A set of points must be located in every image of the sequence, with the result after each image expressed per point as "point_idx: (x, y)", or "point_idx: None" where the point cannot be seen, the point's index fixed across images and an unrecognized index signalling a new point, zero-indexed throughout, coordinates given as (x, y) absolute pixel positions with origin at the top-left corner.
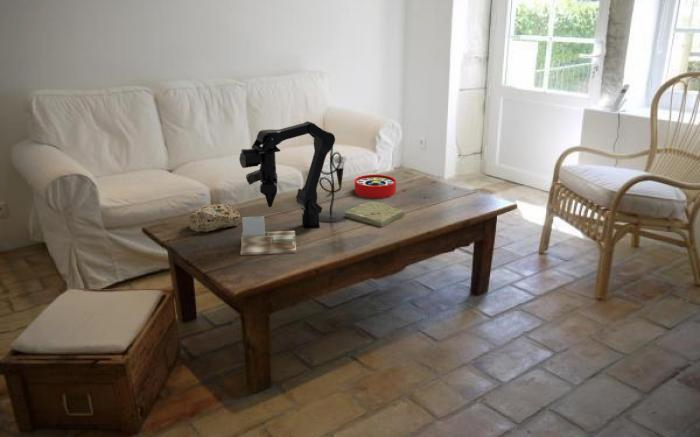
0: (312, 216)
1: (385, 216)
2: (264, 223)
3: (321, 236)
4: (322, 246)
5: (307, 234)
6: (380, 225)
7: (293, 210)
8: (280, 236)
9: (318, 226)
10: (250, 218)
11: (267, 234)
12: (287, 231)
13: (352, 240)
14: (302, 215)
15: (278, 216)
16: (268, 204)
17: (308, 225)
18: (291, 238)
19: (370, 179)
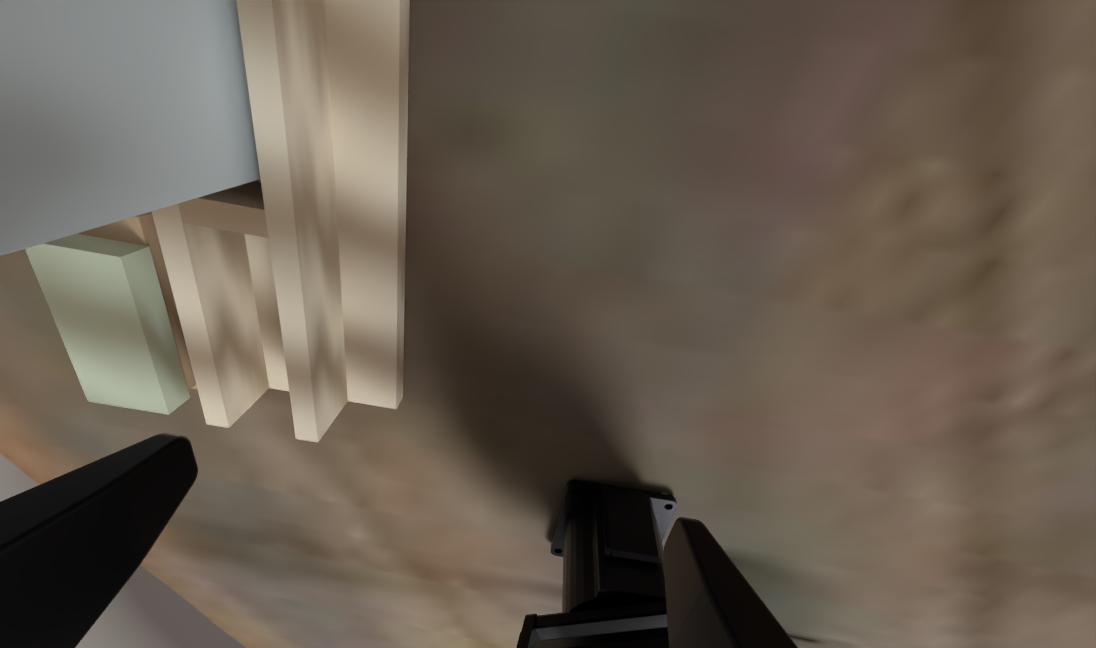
0: (563, 597)
1: None
2: (117, 215)
3: (407, 523)
4: (251, 495)
5: (455, 471)
6: None
7: (976, 493)
8: (123, 318)
9: (551, 548)
10: None
11: (219, 206)
12: (303, 391)
13: (332, 610)
14: (615, 555)
15: (924, 378)
16: (79, 480)
17: (574, 513)
18: (90, 391)
19: None
